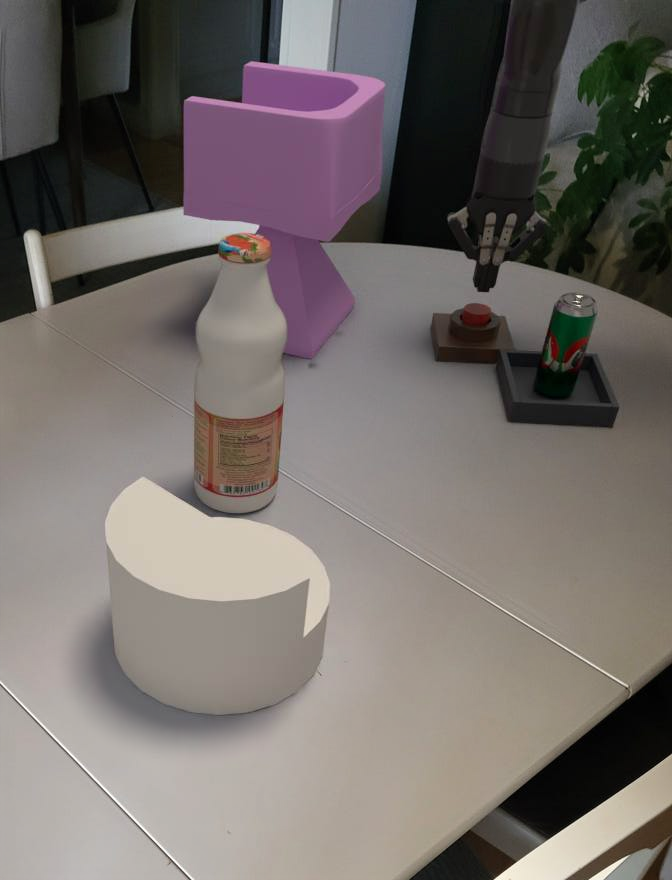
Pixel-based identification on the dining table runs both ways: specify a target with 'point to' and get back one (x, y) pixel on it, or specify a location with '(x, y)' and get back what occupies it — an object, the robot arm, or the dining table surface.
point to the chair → (289, 179)
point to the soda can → (565, 344)
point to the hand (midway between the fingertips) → (482, 289)
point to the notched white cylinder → (211, 604)
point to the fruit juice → (239, 382)
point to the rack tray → (581, 407)
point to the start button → (476, 314)
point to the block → (469, 338)
